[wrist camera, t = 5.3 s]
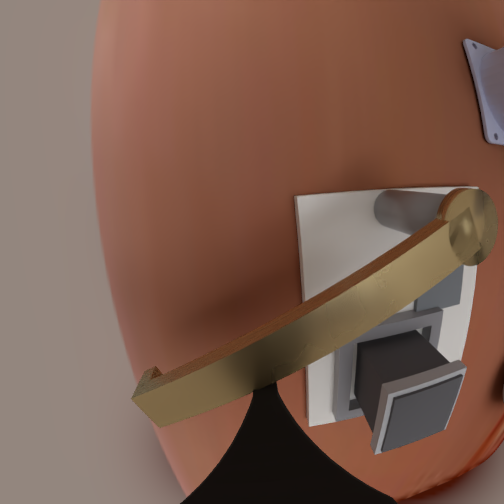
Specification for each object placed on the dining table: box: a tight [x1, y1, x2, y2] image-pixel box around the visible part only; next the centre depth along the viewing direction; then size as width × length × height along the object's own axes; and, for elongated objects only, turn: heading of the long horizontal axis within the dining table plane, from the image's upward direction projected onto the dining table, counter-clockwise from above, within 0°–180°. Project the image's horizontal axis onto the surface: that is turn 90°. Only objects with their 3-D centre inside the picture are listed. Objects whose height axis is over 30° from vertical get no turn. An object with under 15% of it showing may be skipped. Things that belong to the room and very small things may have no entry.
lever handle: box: [131, 188, 498, 428], centre depth 9 cm, size 3×14×2 cm, turn 121°
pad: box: [413, 264, 464, 312], centre depth 15 cm, size 4×4×1 cm
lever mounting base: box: [294, 186, 479, 427], centre depth 13 cm, size 12×15×7 cm
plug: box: [354, 330, 467, 454], centre depth 14 cm, size 5×5×6 cm
